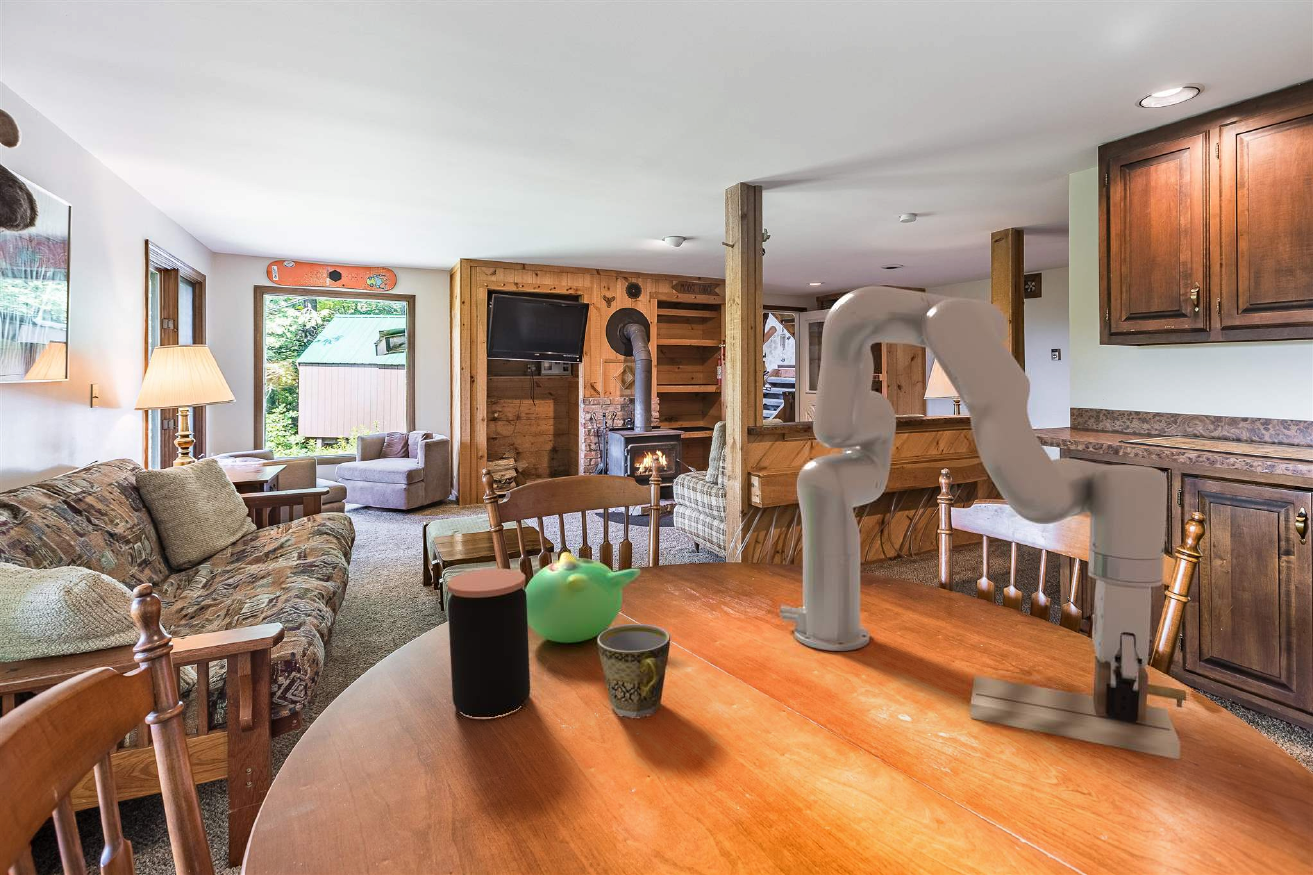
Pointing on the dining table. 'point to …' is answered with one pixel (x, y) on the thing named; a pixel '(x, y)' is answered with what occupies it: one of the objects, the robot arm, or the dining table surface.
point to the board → (1070, 717)
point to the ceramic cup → (634, 667)
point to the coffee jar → (488, 642)
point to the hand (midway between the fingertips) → (1119, 708)
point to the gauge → (1144, 688)
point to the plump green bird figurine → (575, 598)
